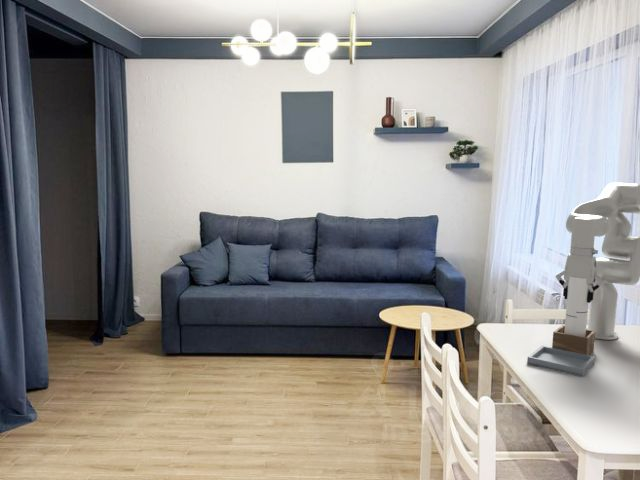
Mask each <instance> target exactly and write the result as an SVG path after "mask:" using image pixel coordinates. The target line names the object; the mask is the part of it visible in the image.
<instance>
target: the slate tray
mask: <svg viewBox="0 0 640 480" xmlns="http://www.w3.org/2000/svg"><path fill="white" fill-rule="evenodd" d="M595 362H596V356H594V355H590V356H589V355H585V354H580V353H575V352H570V351H566V350H561V349H556V348H552V347H550V346H547V345H541V346H539V348H537V349H536V350H535V351H533V352H532V353H530V354H529V355H528V356H527V362H526V365H530V366H535V367H539V368H541V369H542V368H544V369H548V370H551V371H557V372H560V373H564V374H565V373H566V374H569V375H573V376H577V377H583V378H584V376H586V374H587V373H588V372H589V370H591V368H592V367H593V366H594V365H595Z"/></svg>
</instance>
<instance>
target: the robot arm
mask: <svg viewBox="0 0 640 480" xmlns="http://www.w3.org/2000/svg"><path fill="white" fill-rule="evenodd" d="M624 213H627V214H629V213H630V214H637V215H638V214H640V184H639V183H627V182H611V183H608V184H607V185H606V186H605V187H604V188H603V190H602V191H601V192H600V194H599V195H598V196H597V198H596V199H593V200H590V201H587V202H585V203H581V204H579V205H577V206H576V207H574V208H573V209H572V210H571V212H570V213H569V215H568V216H567V219H566V221H565V229H566V230H567V232H569V234H570V235H571V238H570V250H569V254H567V257H566V262H565V266H564V270H563V271H561V272H560V273H558V274H556V275H555V279H557V281H558V283H559V284H560V285H561V286H562V288H563V290H562V291H563V294H562V296H563V297H564V300H567V292H568V282H569V278H570V276H571V277H578V278H586V282H587V285H588V288H589V292H588V298H587V302H588V304H589V305H590V306H589V312H588V313H589V315H588V323H587V324H588V325H587V326H588V327H586V330H592V331H595V339H598V340H603V341H604V340H606V341H611V340H612V341H613V340H617V339H618V338H619V334H618V333H617V332H615V328H616V327H615V326H616V315H617V306H618V298H619V295H618V291H617V289H616V287H615V285H614V284H618V285H624V286H635V285H637V284H638V282H639V281H640V236H636V235H630V234H631V231H632V224H631V222H630V220H629V218H627V216H626V215H625V214H624ZM603 236H604V238H603V241H602V246H601V254H603V255H604V256H606V257H598V258H597V257H596V255H598V253H599V250H597V249H596V248H595V237H600V238H601V237H603ZM562 277H563V278H562Z"/></svg>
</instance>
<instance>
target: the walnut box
mask: <svg viewBox="0 0 640 480" xmlns="http://www.w3.org/2000/svg"><path fill="white" fill-rule="evenodd" d="M564 330H565V324H562V325H561V326H559V327H558V328H557V329H555V330H553V333H552V343H551V346H552V347H551V348H556V349H561V350H566V351H570V352H575V353H580V354H585V355H589V356H592V354H593V353H594V351H595V340H596V338H595V331H592V330H586V337H580V336H575V335H570V334H564Z"/></svg>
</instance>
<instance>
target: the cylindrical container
mask: <svg viewBox="0 0 640 480" xmlns="http://www.w3.org/2000/svg"><path fill="white" fill-rule="evenodd" d="M588 292H589V288H588V285H587V282H586V278H578V277H571V276H570V278H569V282H568V292H567V299H566V306H565V307H566V309H565V319H564V320H565V322H564V325H565V330H564V334H570V335H575V336H580V337H586V329H587V326H588V325H587V324H588V323H587V322H588V313H589V311H588V310H589V303H588V302H587V298H588Z"/></svg>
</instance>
